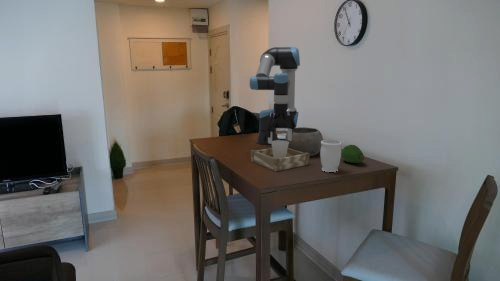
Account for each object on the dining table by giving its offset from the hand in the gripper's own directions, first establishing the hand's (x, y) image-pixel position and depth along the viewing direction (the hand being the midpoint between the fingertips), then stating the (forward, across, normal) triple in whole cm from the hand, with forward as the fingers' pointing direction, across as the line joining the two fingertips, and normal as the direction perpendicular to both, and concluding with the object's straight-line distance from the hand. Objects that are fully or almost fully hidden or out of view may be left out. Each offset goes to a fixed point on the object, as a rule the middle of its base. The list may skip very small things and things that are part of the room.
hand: (279, 141), depth 188 cm
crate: (+12, 0, 0) cm, 12 cm away
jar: (+12, -13, +25) cm, 31 cm away
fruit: (+12, -34, +22) cm, 42 cm away
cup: (+11, 0, 0) cm, 11 cm away
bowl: (+12, -26, -9) cm, 30 cm away
